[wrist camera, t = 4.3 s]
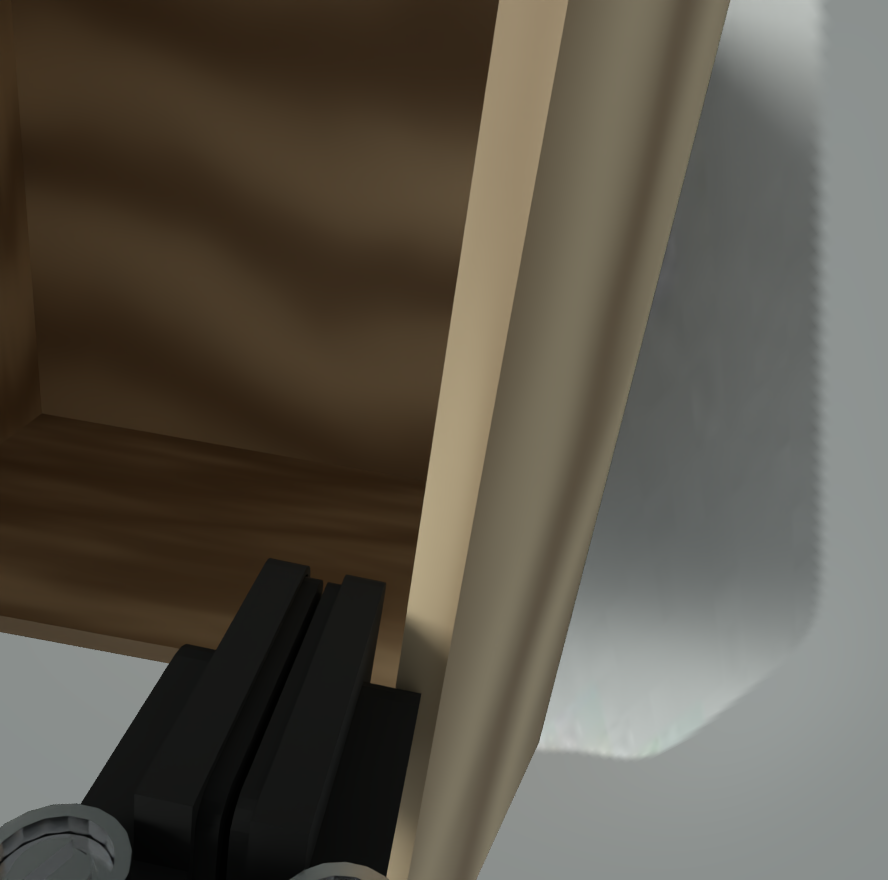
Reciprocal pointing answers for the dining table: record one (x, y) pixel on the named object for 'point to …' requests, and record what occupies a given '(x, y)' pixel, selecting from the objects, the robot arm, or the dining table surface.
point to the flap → (536, 386)
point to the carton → (223, 302)
